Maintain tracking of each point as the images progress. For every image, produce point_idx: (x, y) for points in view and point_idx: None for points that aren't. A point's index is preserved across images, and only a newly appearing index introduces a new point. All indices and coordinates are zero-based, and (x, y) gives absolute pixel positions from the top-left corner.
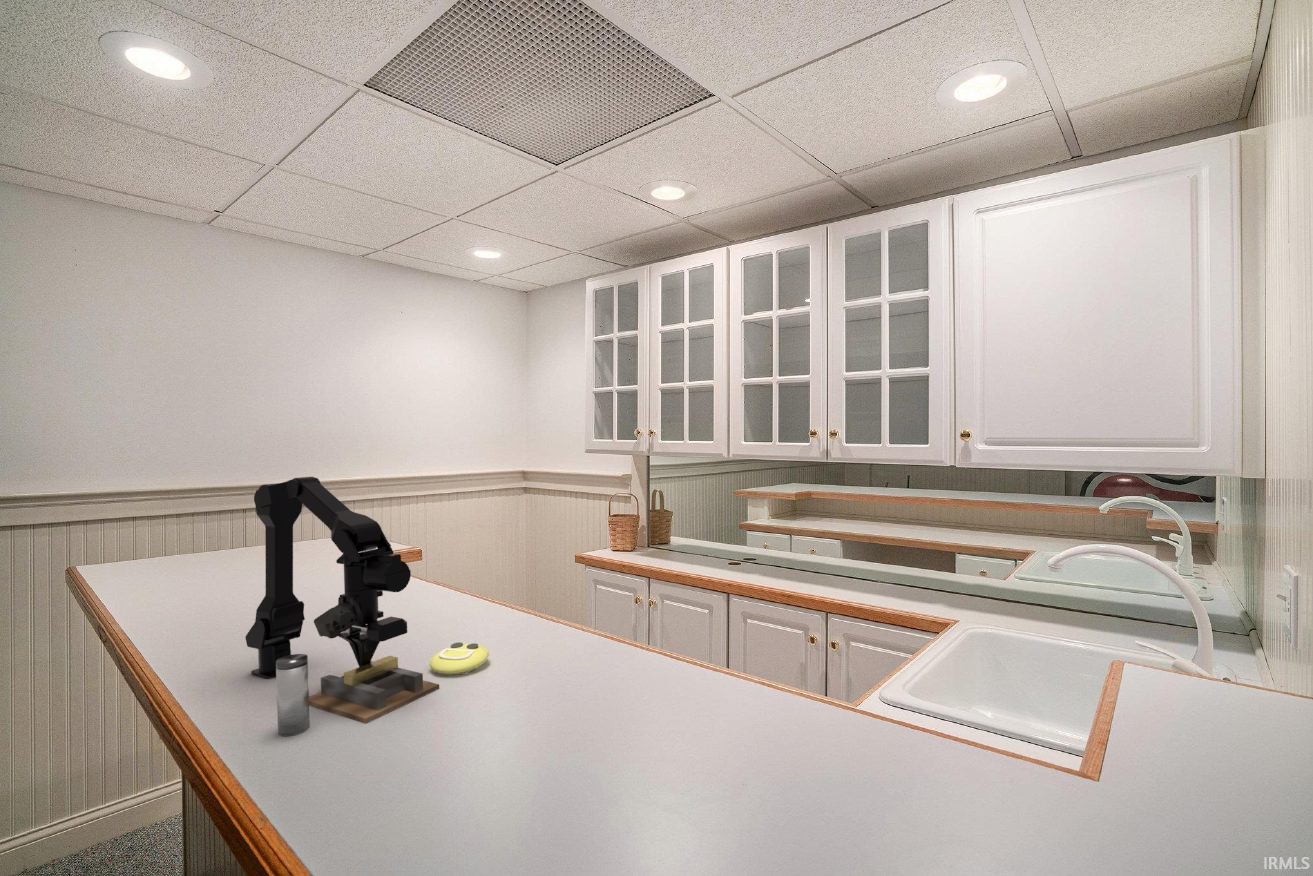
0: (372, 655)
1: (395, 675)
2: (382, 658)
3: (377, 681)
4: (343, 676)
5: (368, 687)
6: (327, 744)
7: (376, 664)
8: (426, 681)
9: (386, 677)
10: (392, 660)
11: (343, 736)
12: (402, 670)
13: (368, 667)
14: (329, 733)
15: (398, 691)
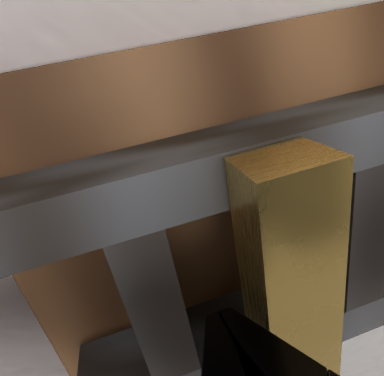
0: (293, 351)
1: (375, 196)
2: (269, 248)
3: (353, 277)
4: (160, 373)
5: (368, 315)
6: (376, 359)
7: (328, 303)
8: (358, 9)
9: (354, 236)
10: (344, 199)
11: (379, 334)
12: (358, 139)
13: (327, 343)
14: (341, 353)
15: None
